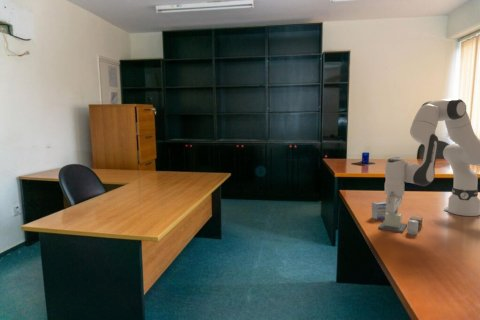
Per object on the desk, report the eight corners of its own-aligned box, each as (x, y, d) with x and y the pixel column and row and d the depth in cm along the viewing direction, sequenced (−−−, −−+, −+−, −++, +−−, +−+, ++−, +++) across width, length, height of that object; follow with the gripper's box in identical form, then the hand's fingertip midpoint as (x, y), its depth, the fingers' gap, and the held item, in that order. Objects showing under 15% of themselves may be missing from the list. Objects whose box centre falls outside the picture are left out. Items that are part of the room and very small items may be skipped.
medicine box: (376, 220, 177) (377, 204, 176) (371, 217, 181) (371, 202, 180) (388, 218, 179) (389, 203, 178) (383, 216, 183) (383, 201, 182)
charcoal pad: (383, 222, 172) (383, 220, 172) (406, 226, 166) (407, 224, 166) (378, 228, 163) (378, 226, 163) (402, 232, 156) (402, 230, 156)
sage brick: (386, 223, 168) (386, 211, 167) (401, 225, 164) (401, 214, 163) (384, 225, 165) (384, 213, 164) (399, 227, 161) (400, 216, 160)
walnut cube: (411, 225, 167) (411, 215, 166) (422, 227, 164) (422, 217, 163) (409, 228, 163) (409, 218, 162) (420, 229, 160) (421, 220, 159)
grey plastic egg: (408, 231, 159) (408, 219, 158) (418, 232, 156) (418, 220, 155) (406, 233, 155) (407, 221, 154) (416, 235, 152) (417, 223, 152)
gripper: (396, 195, 152) (396, 223, 154) (404, 187, 168) (404, 213, 170) (382, 193, 155) (381, 221, 157) (391, 185, 172) (391, 211, 174)
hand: (393, 217), depth 164 cm, fingers open, 8 cm apart
